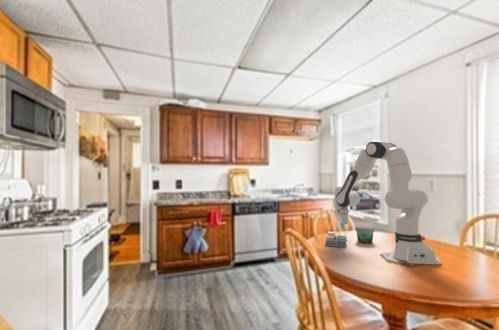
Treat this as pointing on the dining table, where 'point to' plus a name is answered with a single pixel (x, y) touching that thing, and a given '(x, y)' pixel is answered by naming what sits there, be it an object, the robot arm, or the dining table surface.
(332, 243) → the keypad base
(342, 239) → the slate key
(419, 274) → the dining table surface
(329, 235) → the cream key
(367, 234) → the food container
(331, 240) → the terracotta key
